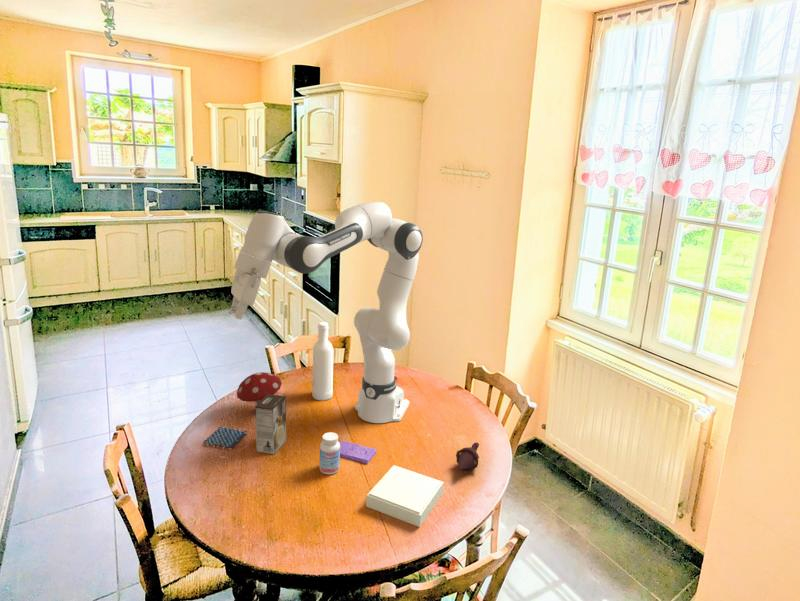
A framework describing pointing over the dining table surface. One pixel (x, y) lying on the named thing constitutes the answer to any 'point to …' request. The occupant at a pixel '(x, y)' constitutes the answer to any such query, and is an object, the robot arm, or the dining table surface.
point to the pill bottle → (329, 453)
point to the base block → (405, 495)
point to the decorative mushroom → (258, 387)
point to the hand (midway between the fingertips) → (235, 315)
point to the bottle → (322, 365)
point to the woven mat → (225, 438)
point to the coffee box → (270, 423)
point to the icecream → (468, 457)
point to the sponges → (356, 452)
